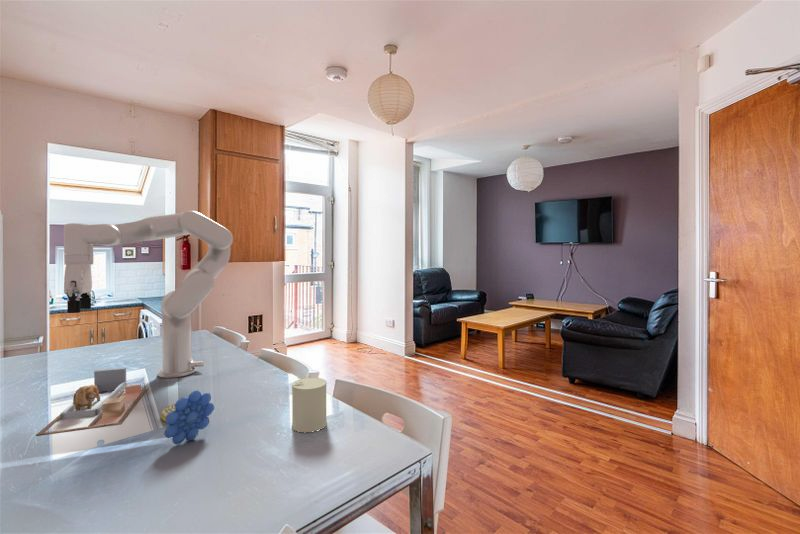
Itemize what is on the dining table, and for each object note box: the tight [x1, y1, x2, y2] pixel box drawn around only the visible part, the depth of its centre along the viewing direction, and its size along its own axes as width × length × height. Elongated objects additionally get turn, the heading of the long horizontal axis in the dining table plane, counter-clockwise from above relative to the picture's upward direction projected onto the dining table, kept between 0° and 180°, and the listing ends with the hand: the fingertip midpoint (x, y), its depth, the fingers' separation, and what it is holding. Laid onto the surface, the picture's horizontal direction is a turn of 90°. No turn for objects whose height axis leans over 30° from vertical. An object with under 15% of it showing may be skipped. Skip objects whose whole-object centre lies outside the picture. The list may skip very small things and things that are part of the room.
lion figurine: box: [72, 384, 101, 411], centre depth 109 cm, size 15×5×9 cm, turn 34°
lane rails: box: [35, 387, 149, 436], centre depth 109 cm, size 18×28×1 cm, turn 22°
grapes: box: [163, 390, 215, 445], centre depth 93 cm, size 12×7×12 cm, turn 143°
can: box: [291, 377, 328, 434], centre depth 101 cm, size 9×9×12 cm
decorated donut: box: [160, 403, 176, 423], centre depth 105 cm, size 10×11×4 cm
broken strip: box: [95, 383, 143, 426], centre depth 111 cm, size 5×26×3 cm, turn 21°
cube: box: [102, 396, 126, 418], centre depth 105 cm, size 4×4×4 cm
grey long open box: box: [59, 367, 127, 420], centre depth 115 cm, size 8×26×7 cm, turn 22°
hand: (79, 310), depth 128 cm, fingers open, 9 cm apart
